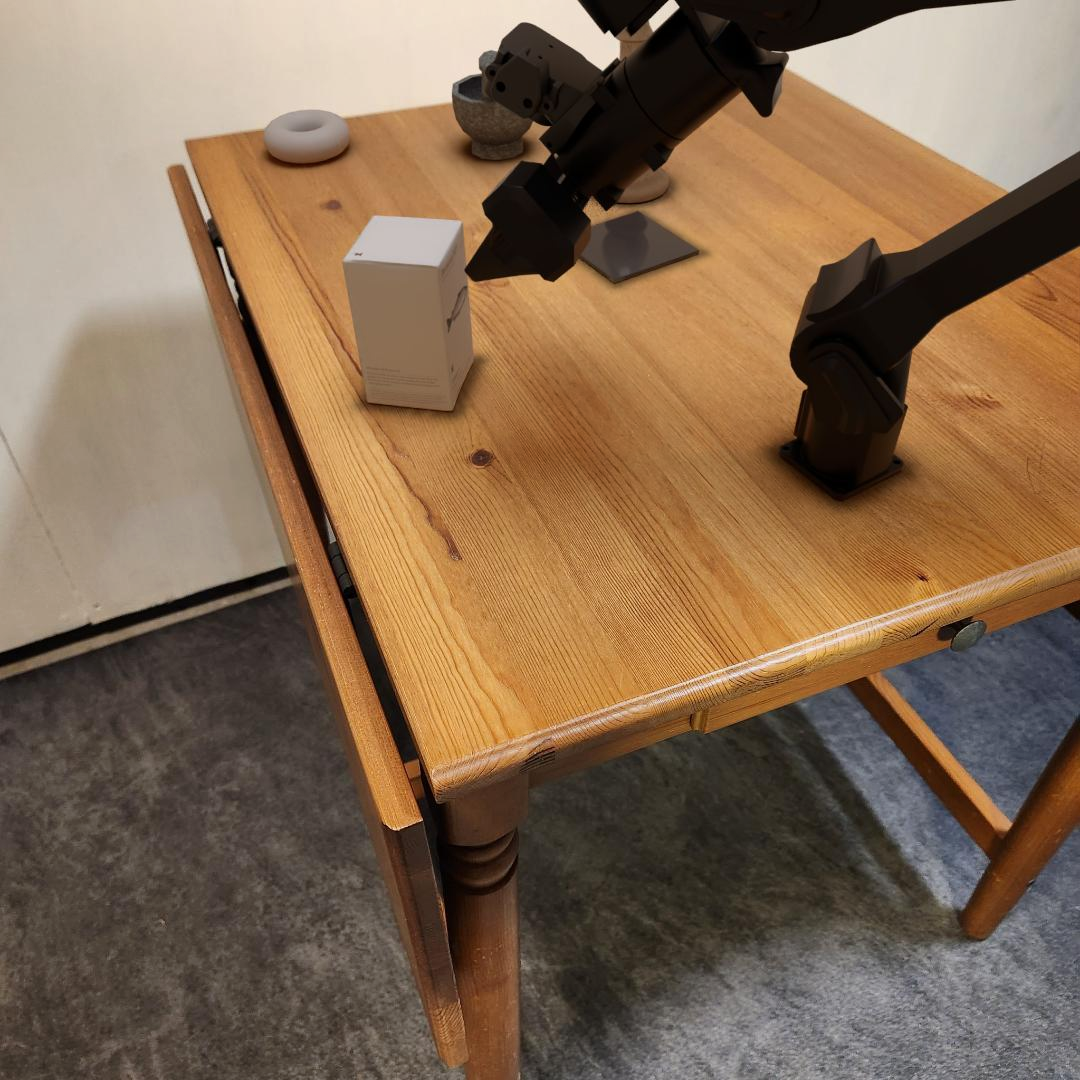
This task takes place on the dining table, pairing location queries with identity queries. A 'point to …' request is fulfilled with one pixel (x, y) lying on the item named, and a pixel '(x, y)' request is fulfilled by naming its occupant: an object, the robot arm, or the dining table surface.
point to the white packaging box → (411, 310)
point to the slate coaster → (633, 247)
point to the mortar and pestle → (487, 117)
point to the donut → (306, 136)
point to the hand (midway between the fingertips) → (494, 243)
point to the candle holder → (650, 181)
